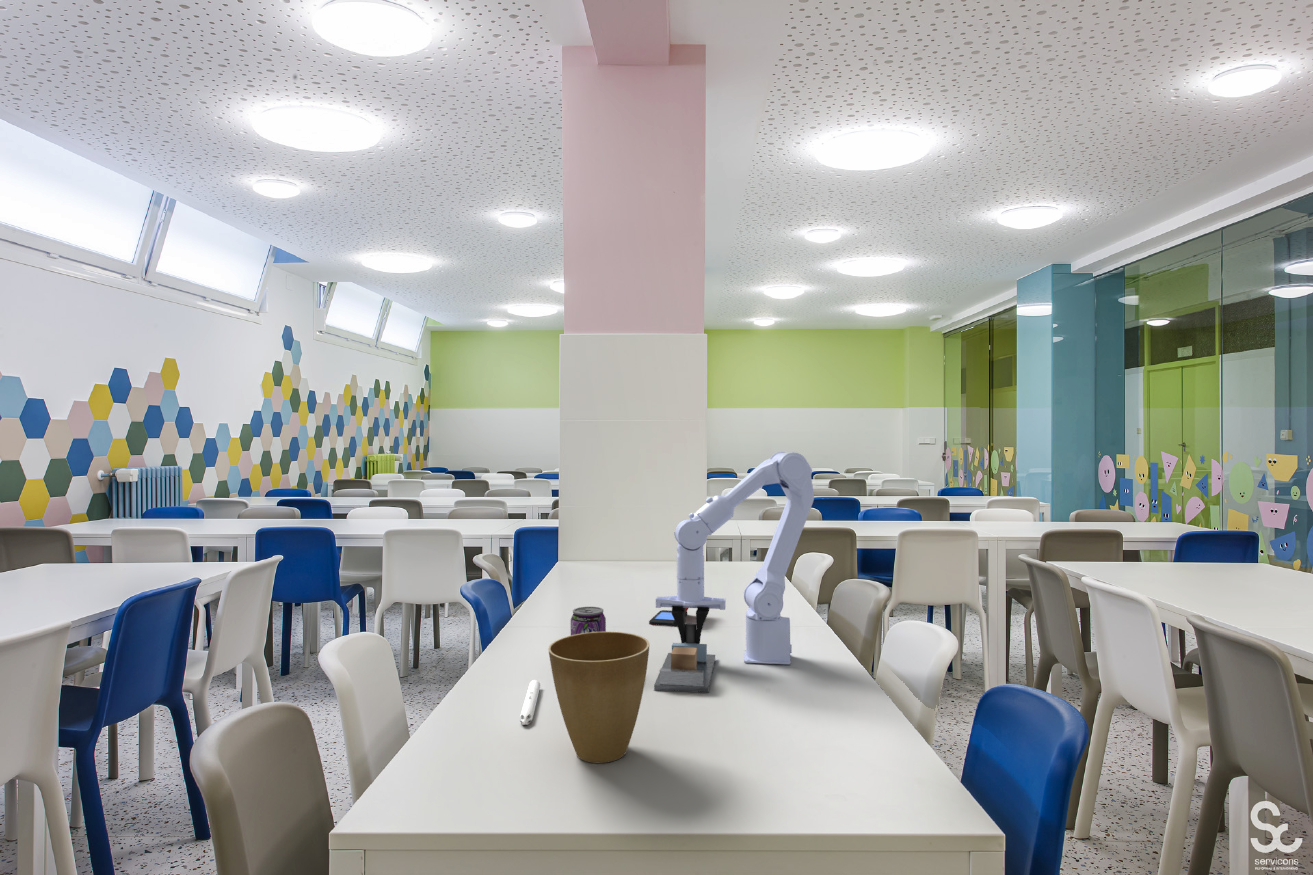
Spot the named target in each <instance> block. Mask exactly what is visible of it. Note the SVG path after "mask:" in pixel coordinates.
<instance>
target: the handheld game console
mask: <svg viewBox="0 0 1313 875" xmlns="http://www.w3.org/2000/svg"><path fill="white" fill-rule="evenodd" d="M671 611H672V610H670V609H669V610H665V609H663V610H659V611H658V612H657V613H656V614H655V615H654V616H653V617H651V619H649V621H648V624H649V625H650V626H660V627H661V626H662V627H663V626H664V627H674V628H675V627H677V624H676V622H675V620H674V618H673V616H672V613H671ZM688 611H689V608H685V618H686V617H687V616H688Z"/></svg>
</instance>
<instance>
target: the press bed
mask: <svg viewBox="0 0 1313 875" xmlns="http://www.w3.org/2000/svg"><path fill="white" fill-rule="evenodd" d="M671 653H672V652H668V653H667V655H666V658H665V660H664V662H663V664H662V667H661V668H660V669H659V673H658V675H657V678H656V680H655V682H654V684H653V691H660V692H661V691H662V692H663V691H664V692H682V693H683V692H686V693H701V694H702V693H704V694H709V691H710V687H711V681H712V677H713V672H714V669H715V664H716V663H715V662H716V654H710V653H709V654H708V653H707V660H706V662H702V661H697V670H684V669H671Z"/></svg>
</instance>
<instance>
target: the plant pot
mask: <svg viewBox="0 0 1313 875" xmlns="http://www.w3.org/2000/svg"><path fill="white" fill-rule="evenodd" d="M547 650H548V656H549V661H550V667H551V668H550V669H551V673H552V679H553V684H554V688H555V693H556V696H557V701H558V704H559V705H558V706H559V709H560V712H561V716H562V718H563V722H564V725H565V728H566V731H567V734H568V736H569V740H570V741H571V744H572V747H573V748H574V752H575V754H576V756H577V757H578V758H579V759H580V760H582V761H584V762H587V763H593V764H602V763H604V764H605V763H611V762H614V761H618V760H619V759H622V757H624V756H625V755H626V753H627V751H628V747H629V745H630V742H631V739H632V736H633V733H634V731H635V727H636V724H637V720H638V717H639V716H638V715H639V711H640V708H641V704H642V698H643V693H644V687H645V683H646V677H647V670H648V662H649V655H650V654H649V652H650V641H649V640H648V639H646V638H645V637H643V636H641V635H639V634H635V633H629V632H621V631H606V632H589V633H582V634H576V635H571V634H570V635H568V636H564V637H561V638H559V639H556V640H555V641H553V642H552V643H551V644H549V646H548V648H547Z"/></svg>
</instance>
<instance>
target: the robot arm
mask: <svg viewBox="0 0 1313 875" xmlns="http://www.w3.org/2000/svg"><path fill="white" fill-rule="evenodd" d="M812 473H813V469H812V468H811V465H810V463H809V462H808V461H807V459H806V457H804V456H803V455H802V454H801V453H799V452H795V451H794V452H793V451H792V452H785V451H777V452H776V453H774V454H772V455H771V456H770V458H767V459H765V460H764V461H762V462H761V463H760V464H758V466H756V467H754V469H753V470H751V471H750V472H749V474H746V476H745V477H744V478H742V479H741V480H740V481H739V482H738V484H736V485H735V486H734V487H733V488H732V489H730V490H729V491H728V492H727V493H726V494H725V495H719V494H718V495H717V494H716V495H714V496H713V497H711V496H709V497H708V498H706V499H705V504H703V506H701V507H700V508H699V509H698V510H696V511H695V512H690V513H689V514H688V515H687V516H688V517H689V518H688V519H683V520H682V521H680V522H679V523H678V524H677V525H676V528H675V531H674V532H673V535H674V538H675V540H676V541H677V547H676V551H677V554H676V595H674V596H673V595H671V596H656V597H655V608H656V609H657V608H658V609H660V608H671V610H670V611H671V613H672V616H673V618H674V620H675V622H676V624H677V626H676V627H677V629H678V633H679V636H680V637H679V638H680V643H685V624H686V617H685V608H688V609H696V611H695V619H696V621H695V624H696V630H697V631H696V644H701V636H702V631H703V628H704V624H705V622H706V619H707V617H708V615H709V612H710V609H712V610H723V611H724V610H726V607H727V606H726V604H727V603H726V602H727V601H726V600H727V598H721V597H720V598H719V597H711V596H705V556H704V546H705V544H706V543H707V540H708V536H711V535H712V534H714V533H715V532H716V531H717V530H719V529H720V528H721V527H722V526H723V525H725V524H726V523H727V522H728V521H729V520H730V519H732V518H733V517H734V514H735V513H734V512H735V508H736V507H737V506H739V505H740V504H741V503H742V502H744V501H745V500H747V499H748V498H749V497H750V496H752V495H753V494H754V493H755V492H757V491H758V490H760V489H761V488H762V487H763V486H767V485H774V484H775V485H776V484H778V485H780V487H781V489H782V491H783V492H784V495H785V496H786V503H785V505H784V508H783V511H782V513H781V516H780V518H779V521H778V524H777V527H776V529H775V532H774V534H773V537H772V539H771V541H770V544H769V546H768V550H767V553H766V555H765V557H764V561H763V563H762V566H761V567H760V568H759V569H758V570H757V572H756V573H755V574H754V577H753V579H752V581H751V582H749V583H748V584H747V585H746V587H745V589H744V592H743V600H744V602H745V604H746V605H747V606H748V609H747V611H746V612H745V647H746V648H745V650H744V653H743V662H744V663H745V664H747V663H748V664H766V665H767V664H768V665H769V664H770V665H771V664H772V665H791V654H792V652H793V651H792V650H793V648H792V645H793V644H791V619H790V617H788V616H781V612H782V611H783V608H784V594H785V591H786V581H785V580H786V579H785V577H786V575H787V572H788V569H789V566H790V565H791V564H790V563H791V561H792V559H793V557H794V554H795V551H796V548H797V545H798V543H799V540H800V538H801V535H802V532H803V530H804V528H805V524H806V522H807V519H808V517H809V514H810V511H811V508H812V506H813V503H814V500H815V494H814V488H813V480H812Z"/></svg>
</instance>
